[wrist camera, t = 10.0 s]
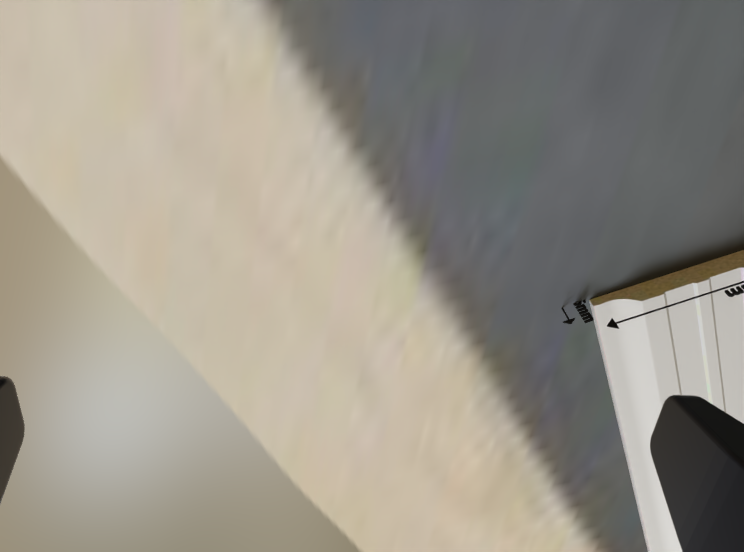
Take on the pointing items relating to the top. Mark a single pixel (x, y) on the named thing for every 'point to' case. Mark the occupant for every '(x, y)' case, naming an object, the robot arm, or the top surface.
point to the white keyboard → (670, 363)
